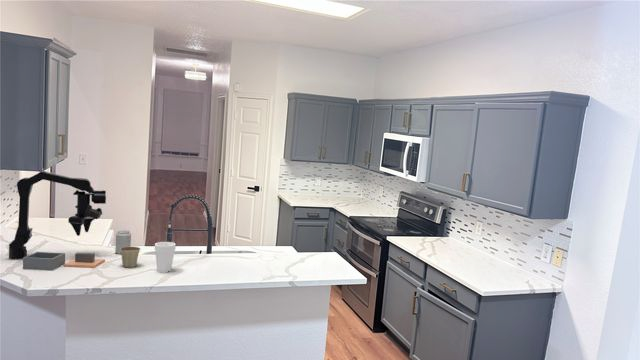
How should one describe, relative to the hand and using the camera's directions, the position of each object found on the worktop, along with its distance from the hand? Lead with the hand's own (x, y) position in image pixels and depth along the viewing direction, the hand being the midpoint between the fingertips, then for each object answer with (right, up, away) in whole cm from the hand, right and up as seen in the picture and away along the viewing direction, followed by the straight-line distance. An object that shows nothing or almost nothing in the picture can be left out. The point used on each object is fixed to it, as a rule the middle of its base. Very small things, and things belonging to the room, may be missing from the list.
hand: (82, 233), depth 230 cm
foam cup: (+46, -16, -13) cm, 51 cm away
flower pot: (+28, -15, -9) cm, 33 cm away
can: (+14, -12, +14) cm, 23 cm away
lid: (+8, -13, -14) cm, 20 cm away
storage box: (-6, -13, -21) cm, 26 cm away
